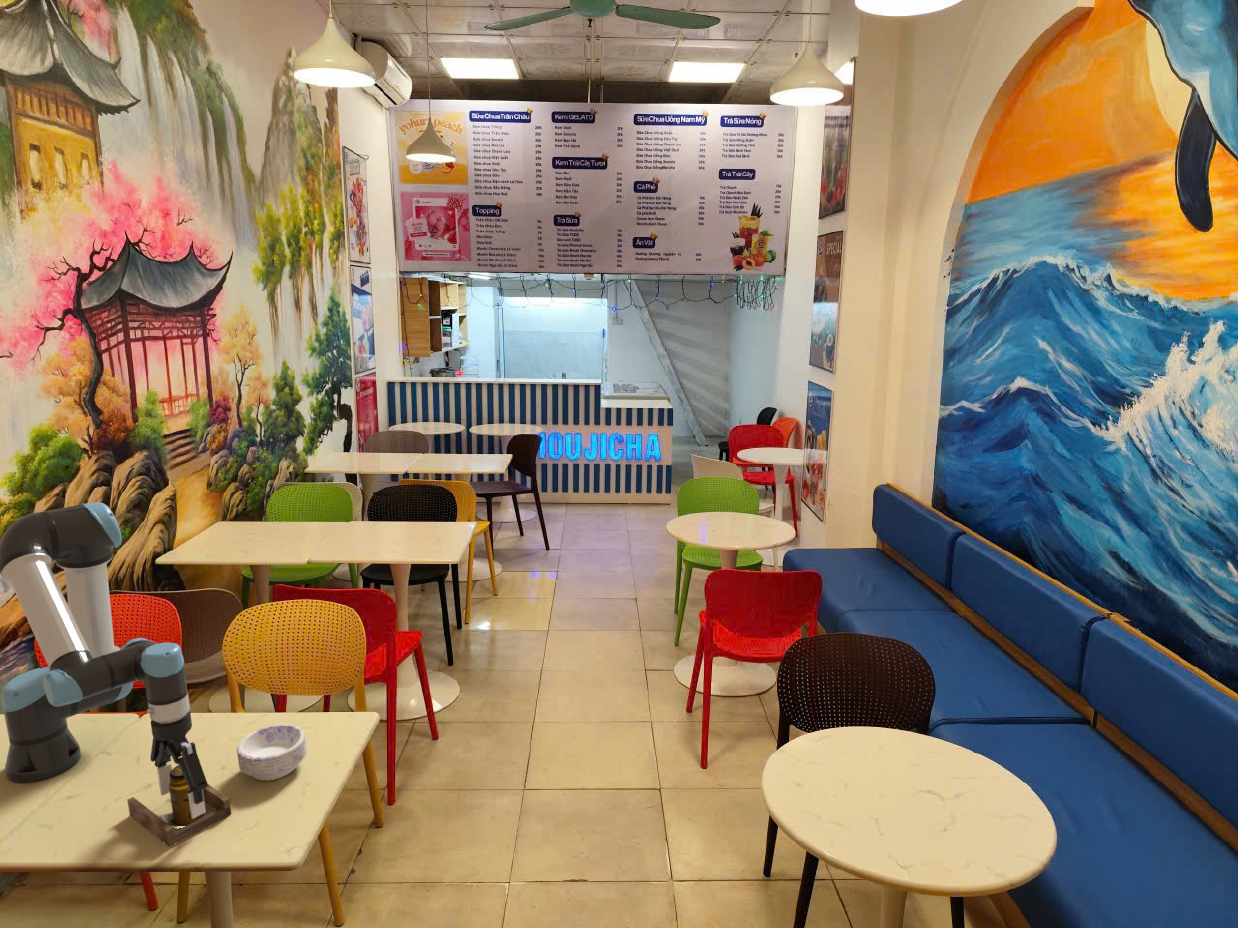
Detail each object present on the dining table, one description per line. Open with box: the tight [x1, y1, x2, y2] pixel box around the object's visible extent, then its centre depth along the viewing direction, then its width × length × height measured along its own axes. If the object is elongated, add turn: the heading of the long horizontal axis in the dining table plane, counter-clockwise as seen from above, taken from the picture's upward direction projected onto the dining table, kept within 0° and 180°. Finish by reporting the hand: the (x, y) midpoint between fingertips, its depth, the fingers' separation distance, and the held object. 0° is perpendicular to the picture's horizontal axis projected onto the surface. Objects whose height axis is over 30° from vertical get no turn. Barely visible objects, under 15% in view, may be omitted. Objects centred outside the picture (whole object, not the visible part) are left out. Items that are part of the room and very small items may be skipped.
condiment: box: [161, 764, 208, 832], centre depth 179 cm, size 7×8×12 cm
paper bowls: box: [236, 723, 308, 782], centre depth 197 cm, size 15×15×8 cm
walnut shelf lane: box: [127, 784, 232, 848], centre depth 181 cm, size 18×13×4 cm
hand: (182, 803), depth 179 cm, fingers open, 13 cm apart
